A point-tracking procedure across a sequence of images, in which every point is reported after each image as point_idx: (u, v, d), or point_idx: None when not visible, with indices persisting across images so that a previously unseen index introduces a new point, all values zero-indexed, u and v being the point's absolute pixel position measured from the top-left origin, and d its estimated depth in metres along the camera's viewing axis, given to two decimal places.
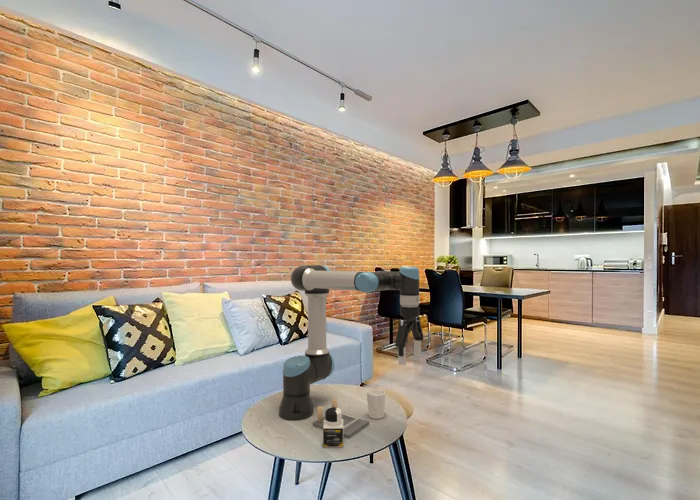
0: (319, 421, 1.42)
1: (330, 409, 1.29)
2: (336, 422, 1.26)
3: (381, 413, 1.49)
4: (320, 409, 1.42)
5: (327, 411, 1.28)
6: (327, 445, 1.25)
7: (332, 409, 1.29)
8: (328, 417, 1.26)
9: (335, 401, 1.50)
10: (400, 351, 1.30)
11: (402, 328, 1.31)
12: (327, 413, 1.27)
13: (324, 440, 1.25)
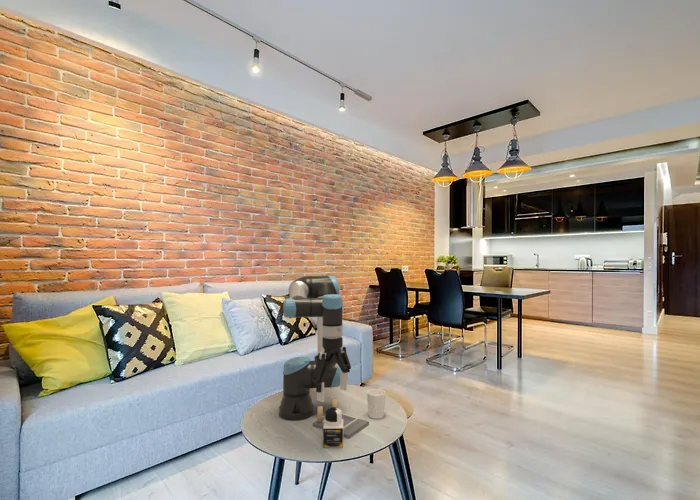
0: (319, 421, 1.42)
1: (330, 409, 1.29)
2: (336, 422, 1.26)
3: (381, 413, 1.49)
4: (320, 409, 1.42)
5: (327, 411, 1.28)
6: (327, 445, 1.25)
7: (332, 409, 1.29)
8: (328, 417, 1.26)
9: (335, 401, 1.50)
10: (317, 387, 1.22)
11: (320, 362, 1.23)
12: (327, 413, 1.27)
13: (324, 440, 1.25)
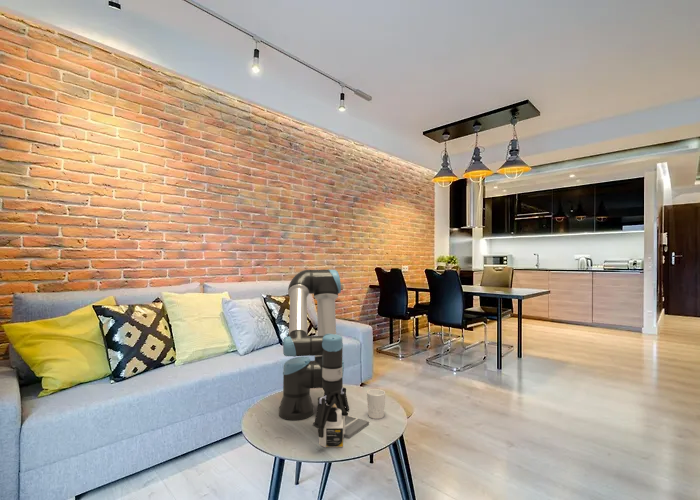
0: None
1: (330, 409, 1.29)
2: (336, 422, 1.26)
3: (381, 413, 1.49)
4: None
5: None
6: (327, 445, 1.25)
7: (332, 409, 1.29)
8: (328, 417, 1.26)
9: None
10: (320, 432, 1.23)
11: (321, 407, 1.23)
12: None
13: None
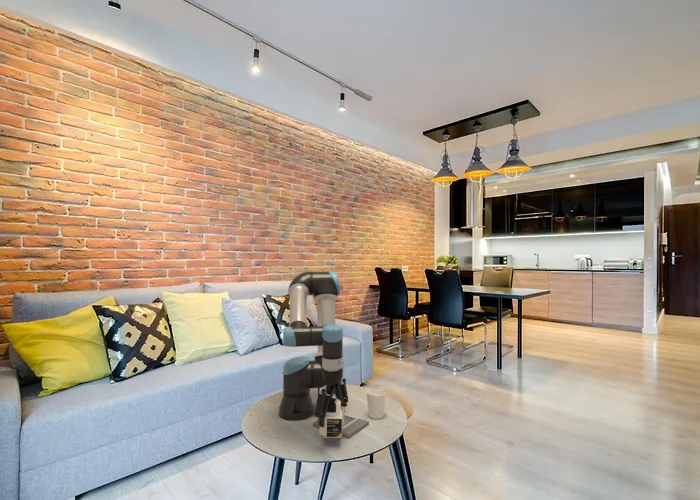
0: None
1: None
2: (335, 413, 1.26)
3: (381, 413, 1.49)
4: None
5: None
6: None
7: (331, 400, 1.29)
8: None
9: None
10: (320, 422, 1.24)
11: (321, 397, 1.23)
12: None
13: None
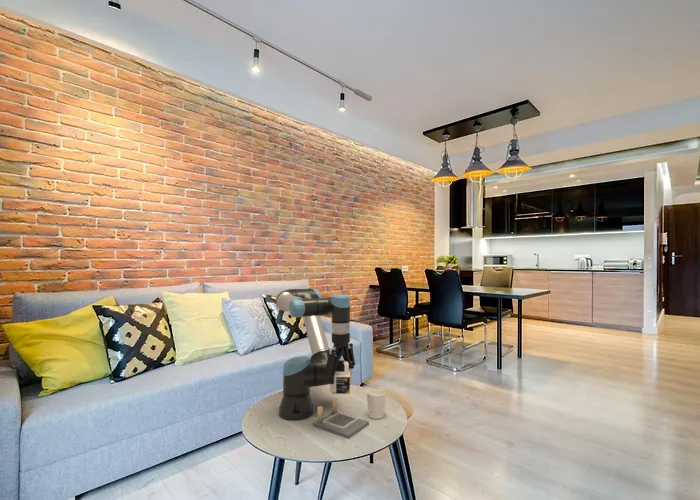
0: (319, 421, 1.42)
1: None
2: (344, 372, 1.40)
3: (381, 413, 1.49)
4: (320, 409, 1.42)
5: None
6: (335, 392, 1.39)
7: (340, 361, 1.43)
8: None
9: (335, 401, 1.50)
10: (330, 379, 1.37)
11: (331, 357, 1.37)
12: None
13: None
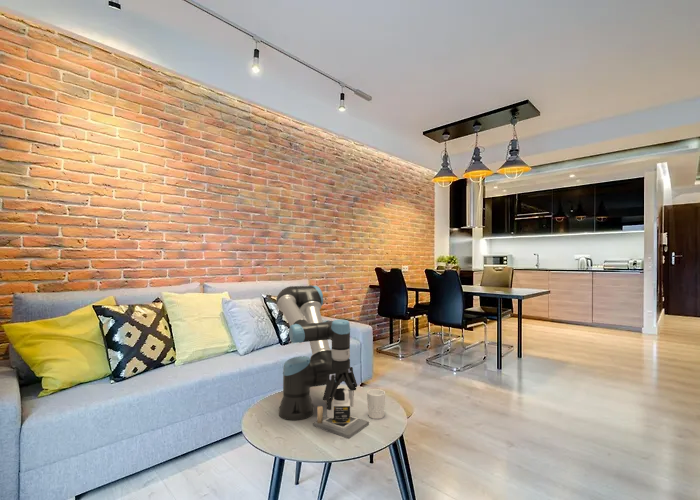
0: (319, 421, 1.42)
1: (338, 389, 1.43)
2: (344, 401, 1.40)
3: (381, 413, 1.49)
4: (320, 409, 1.42)
5: None
6: (336, 421, 1.39)
7: (340, 389, 1.43)
8: (336, 396, 1.40)
9: None
10: (328, 405, 1.36)
11: (330, 382, 1.37)
12: (336, 393, 1.41)
13: None
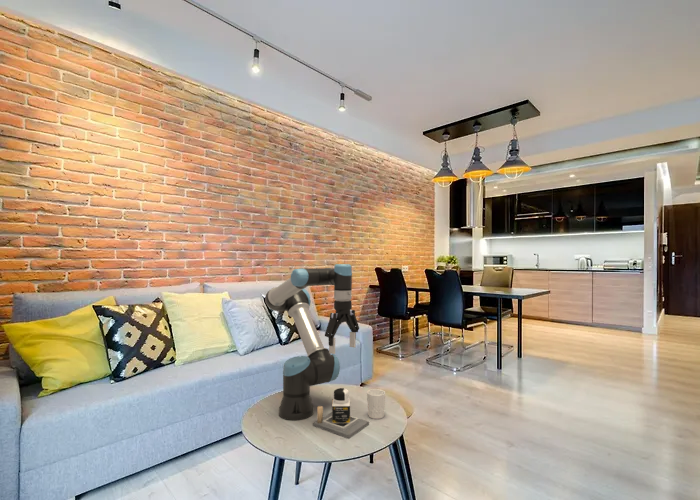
0: (319, 421, 1.42)
1: (338, 389, 1.43)
2: (344, 401, 1.40)
3: (381, 413, 1.49)
4: (320, 409, 1.42)
5: (335, 391, 1.42)
6: (336, 421, 1.39)
7: (340, 389, 1.43)
8: (336, 396, 1.40)
9: None
10: (329, 341, 1.43)
11: (332, 320, 1.44)
12: (336, 393, 1.41)
13: (333, 417, 1.39)
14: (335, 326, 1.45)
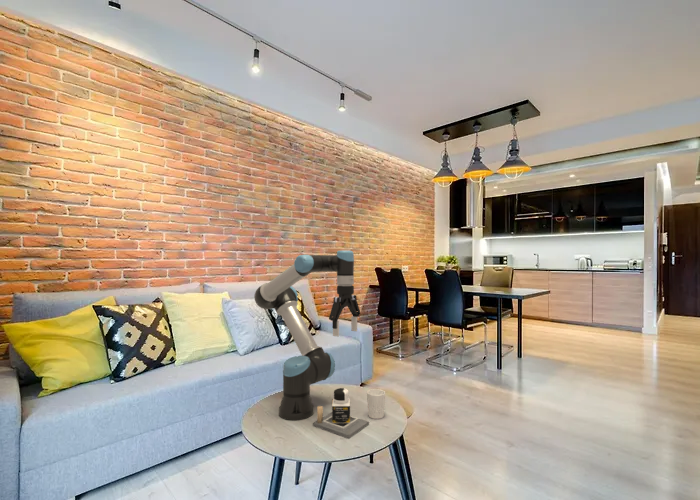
0: (319, 421, 1.42)
1: (338, 389, 1.43)
2: (344, 401, 1.40)
3: (381, 413, 1.49)
4: (320, 409, 1.42)
5: (335, 391, 1.42)
6: (336, 421, 1.39)
7: (340, 389, 1.43)
8: (336, 396, 1.40)
9: None
10: (333, 324, 1.48)
11: (336, 304, 1.49)
12: (336, 393, 1.41)
13: (333, 417, 1.39)
14: (338, 310, 1.50)
